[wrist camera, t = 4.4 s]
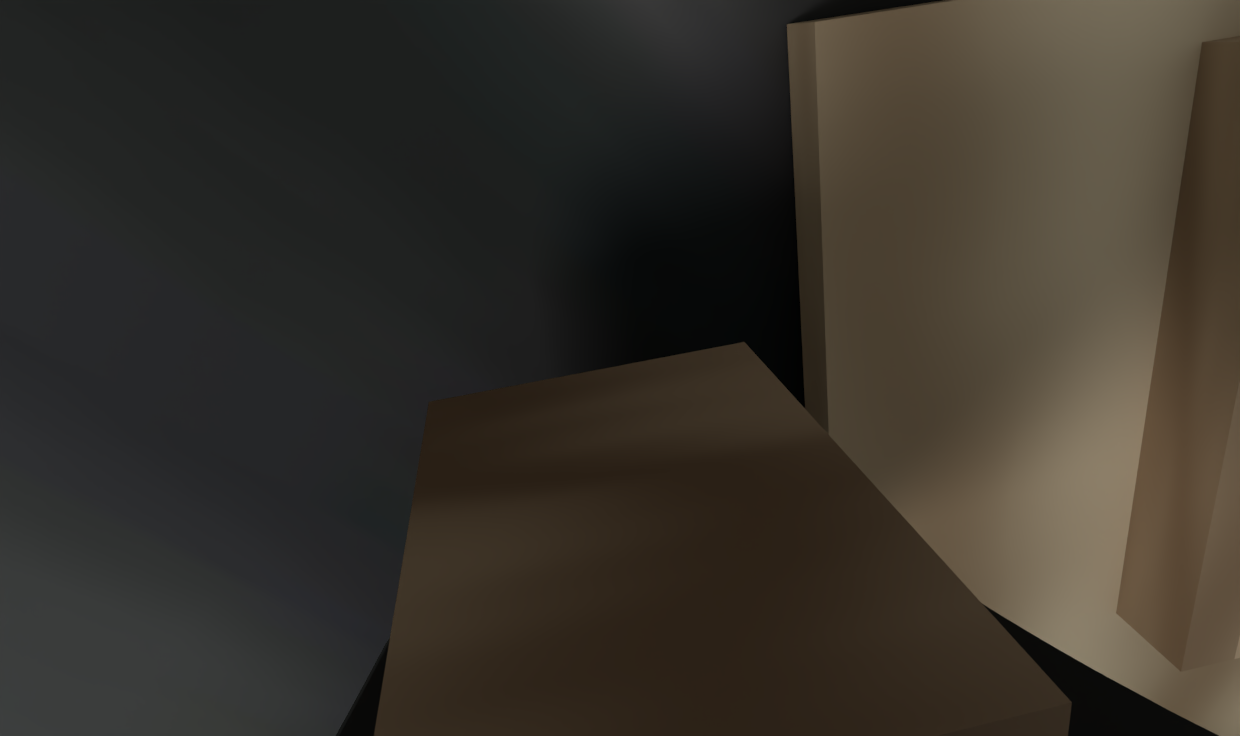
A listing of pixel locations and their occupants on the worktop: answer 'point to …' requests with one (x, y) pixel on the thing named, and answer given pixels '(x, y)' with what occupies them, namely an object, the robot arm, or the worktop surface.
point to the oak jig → (1040, 311)
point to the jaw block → (680, 574)
